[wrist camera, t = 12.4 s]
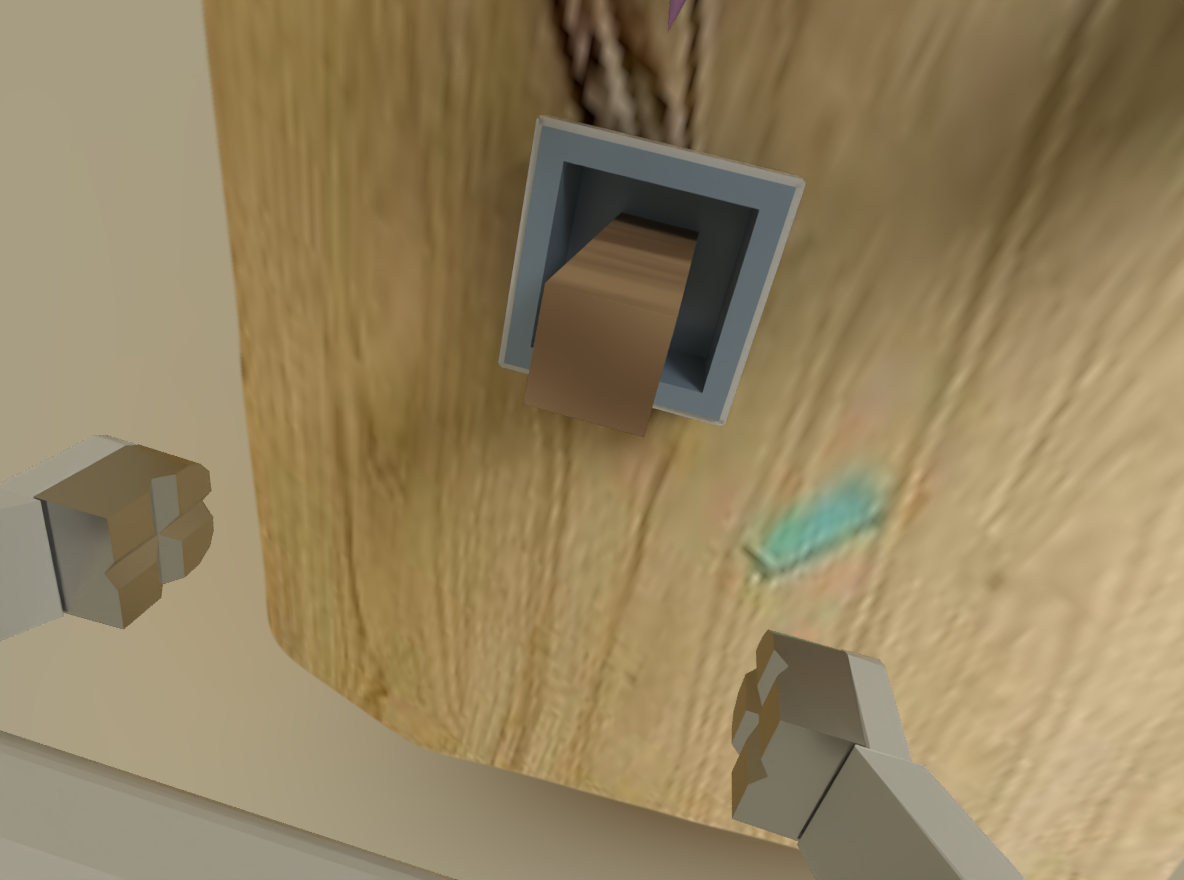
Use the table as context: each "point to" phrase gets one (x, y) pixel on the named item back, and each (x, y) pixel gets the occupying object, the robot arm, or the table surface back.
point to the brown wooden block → (611, 324)
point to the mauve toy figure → (674, 10)
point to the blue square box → (668, 195)
